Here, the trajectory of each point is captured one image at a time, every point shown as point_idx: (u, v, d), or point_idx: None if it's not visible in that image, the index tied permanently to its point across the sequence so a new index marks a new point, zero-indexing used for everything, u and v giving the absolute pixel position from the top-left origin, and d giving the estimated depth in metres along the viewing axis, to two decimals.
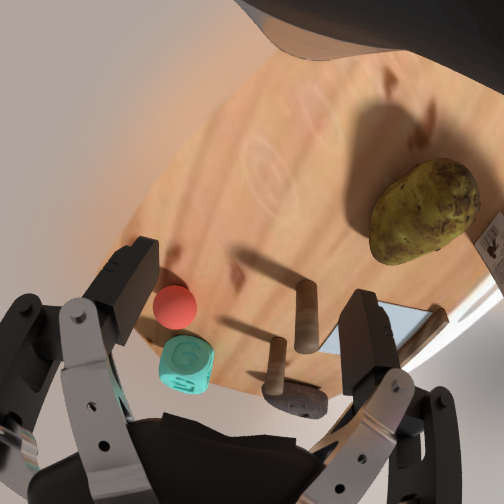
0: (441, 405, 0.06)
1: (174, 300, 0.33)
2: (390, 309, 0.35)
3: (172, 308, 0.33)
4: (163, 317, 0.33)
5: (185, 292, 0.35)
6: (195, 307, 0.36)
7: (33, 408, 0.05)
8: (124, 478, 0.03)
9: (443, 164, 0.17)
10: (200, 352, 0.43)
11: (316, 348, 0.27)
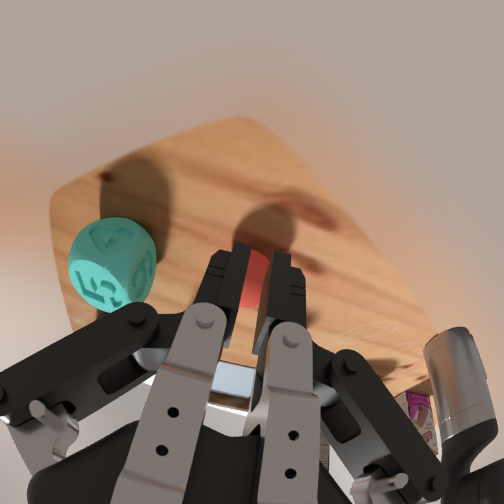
0: (351, 372, 0.07)
1: None
2: (250, 383, 0.48)
3: None
4: (253, 295, 0.26)
5: None
6: None
7: (95, 405, 0.06)
8: (161, 486, 0.03)
9: None
10: (149, 280, 0.31)
11: None
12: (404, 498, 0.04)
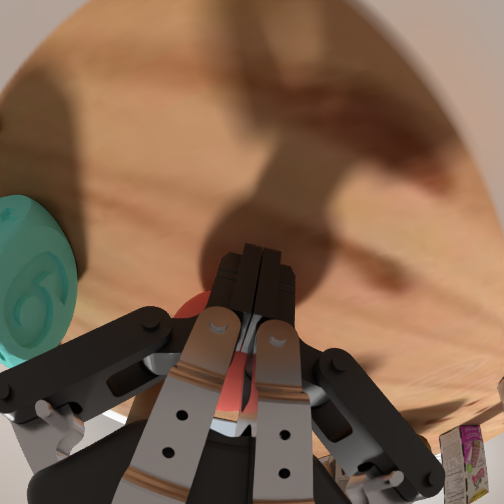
0: (339, 371, 0.07)
1: None
2: None
3: None
4: None
5: None
6: None
7: (102, 406, 0.06)
8: (165, 488, 0.03)
9: None
10: (62, 310, 0.14)
11: None
12: (401, 495, 0.04)
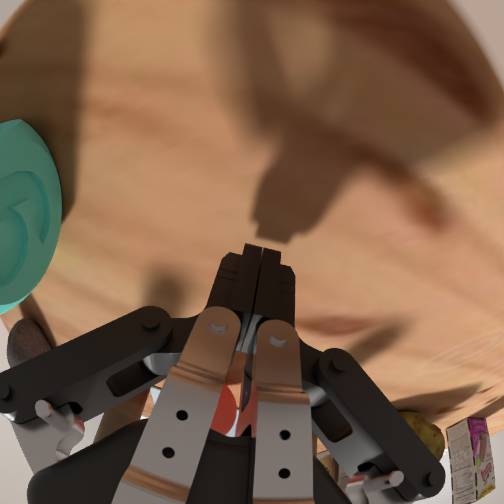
0: (339, 371, 0.07)
1: (233, 421, 0.18)
2: None
3: (226, 425, 0.17)
4: None
5: None
6: None
7: (102, 406, 0.06)
8: (165, 488, 0.03)
9: (444, 446, 0.20)
10: (39, 248, 0.11)
11: None
12: (401, 495, 0.04)
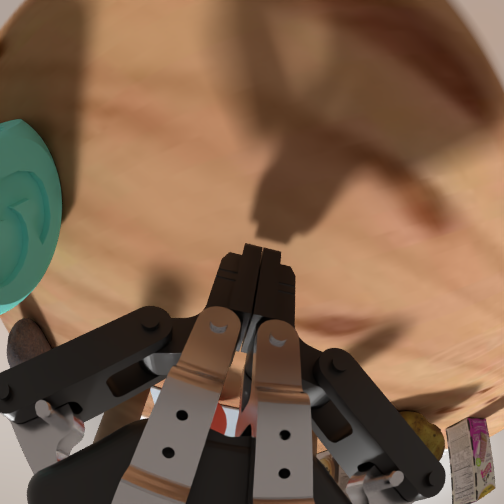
0: (339, 371, 0.07)
1: None
2: None
3: None
4: None
5: None
6: None
7: (102, 406, 0.06)
8: (165, 488, 0.03)
9: (444, 446, 0.20)
10: (39, 248, 0.11)
11: None
12: (401, 495, 0.04)
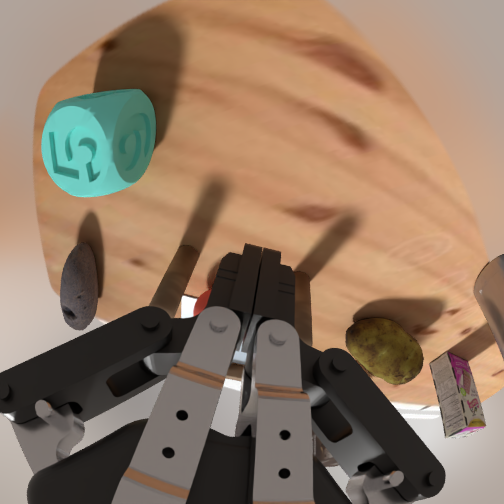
0: (339, 371, 0.07)
1: None
2: None
3: None
4: None
5: None
6: None
7: (102, 407, 0.06)
8: (165, 488, 0.03)
9: (423, 358, 0.31)
10: (143, 159, 0.22)
11: None
12: (401, 495, 0.04)
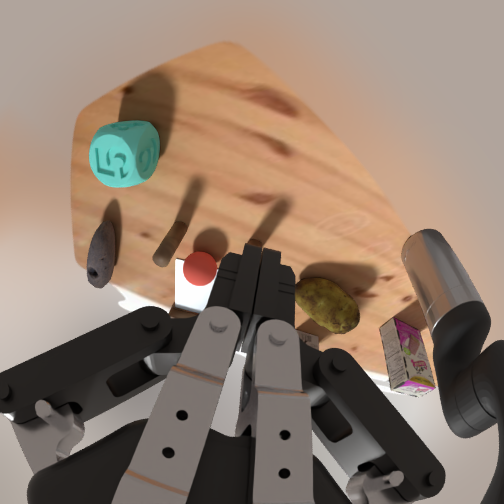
0: (339, 371, 0.07)
1: (213, 279, 0.47)
2: None
3: (208, 283, 0.47)
4: (199, 283, 0.46)
5: None
6: None
7: (102, 407, 0.06)
8: (165, 488, 0.03)
9: (359, 313, 0.46)
10: (152, 165, 0.37)
11: None
12: (401, 495, 0.04)
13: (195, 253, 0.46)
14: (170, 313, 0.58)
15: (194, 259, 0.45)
